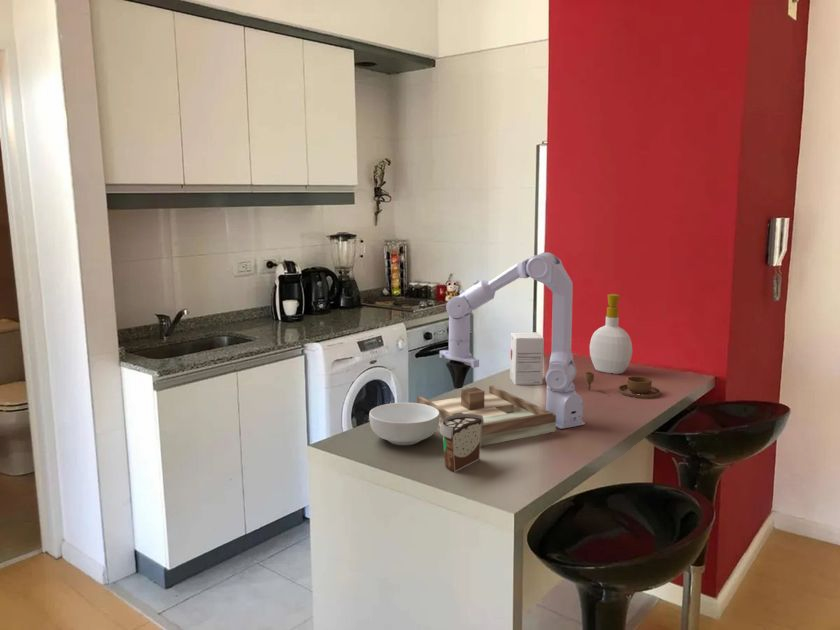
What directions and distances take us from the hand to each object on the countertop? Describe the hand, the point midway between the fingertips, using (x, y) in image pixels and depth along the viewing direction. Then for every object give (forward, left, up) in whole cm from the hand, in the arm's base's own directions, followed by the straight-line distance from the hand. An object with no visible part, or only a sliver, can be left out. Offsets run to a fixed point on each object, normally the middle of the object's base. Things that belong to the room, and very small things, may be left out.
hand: (458, 387), depth 190 cm
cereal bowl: (-16, +24, -6) cm, 29 cm away
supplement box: (+14, -33, -6) cm, 37 cm away
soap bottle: (+11, -65, -6) cm, 66 cm away
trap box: (-13, 0, -6) cm, 14 cm away
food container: (-34, +20, -6) cm, 39 cm away
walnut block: (-8, 0, -3) cm, 8 cm away
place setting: (-8, -54, -7) cm, 55 cm away
